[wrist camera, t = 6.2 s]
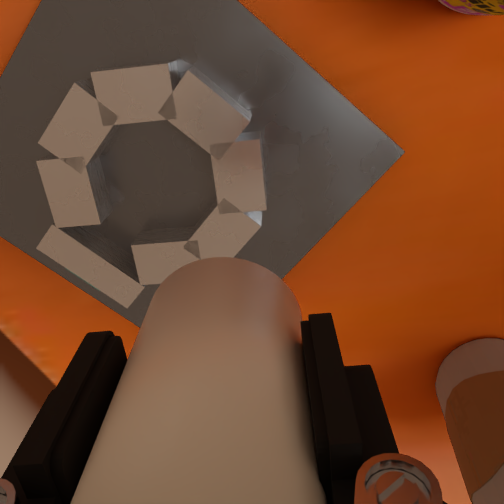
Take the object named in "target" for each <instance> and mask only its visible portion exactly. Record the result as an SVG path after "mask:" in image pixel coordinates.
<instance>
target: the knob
mask: <svg viewBox="0 0 504 504" xmlns="http://www.w3.org/2000/svg"><path fill="white" fill-rule="evenodd" d="M300 321H302V315H301V310H300V307H299V304H298V302H297V300H296V298H295V295H294V294H293V292H292V291H291V289H290V288H289V287H288V286H287V285H286V283H285V282H284V281H283V280H282V279H281V278H279V277H278V276H277V275H276V274H275V273H273V272H271V271H270V270H268V269H267V268H265V267H263V266H261V265H259V264H256V263H253V262H250V261H247V260H243V259H238V258H231V257H213V258H206V259H201V260H198V261H194V262H192V263H189V264H187V265H184V266H183V267H181V268H179V269H177V270H176V271H174V272H173V273H172V274H170V275H169V276H168V277H167V278H166V279H165V280H164V281H163V282H162V283H161V284H160V286H159V287H158V289H157V290H156V292H155V294H154V296H153V298H152V300H151V302H150V305H149V307H148V310H147V312H146V315H145V317H144V320H143V323H142V325H141V328H140V330H139V333H138V335H137V338H136V340H135V343H134V345H133V348H132V350H131V353H130V355H129V358H128V360H127V363H126V365H125V368H124V370H123V373H122V375H121V378H120V380H119V383H118V385H117V388H116V390H115V393H114V395H113V398H112V400H111V403H110V405H109V408H108V410H107V413H106V415H105V418H104V420H103V423H102V426H101V428H100V431H99V433H98V436H97V438H96V441H95V443H94V446H93V448H92V451H91V453H90V456H89V458H88V461H87V463H86V466H85V468H84V471H83V473H82V476H81V478H80V481H79V483H78V486H77V488H76V491H75V493H74V496H73V498H72V501H71V503H70V504H327V500H326V495H325V492H324V489H323V487H322V484H321V483H320V481H319V475H318V467H317V459H316V451H315V443H314V435H313V427H312V419H311V411H310V403H309V395H308V387H307V379H306V371H305V363H304V355H303V347H302V336H301V323H300Z"/></svg>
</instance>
